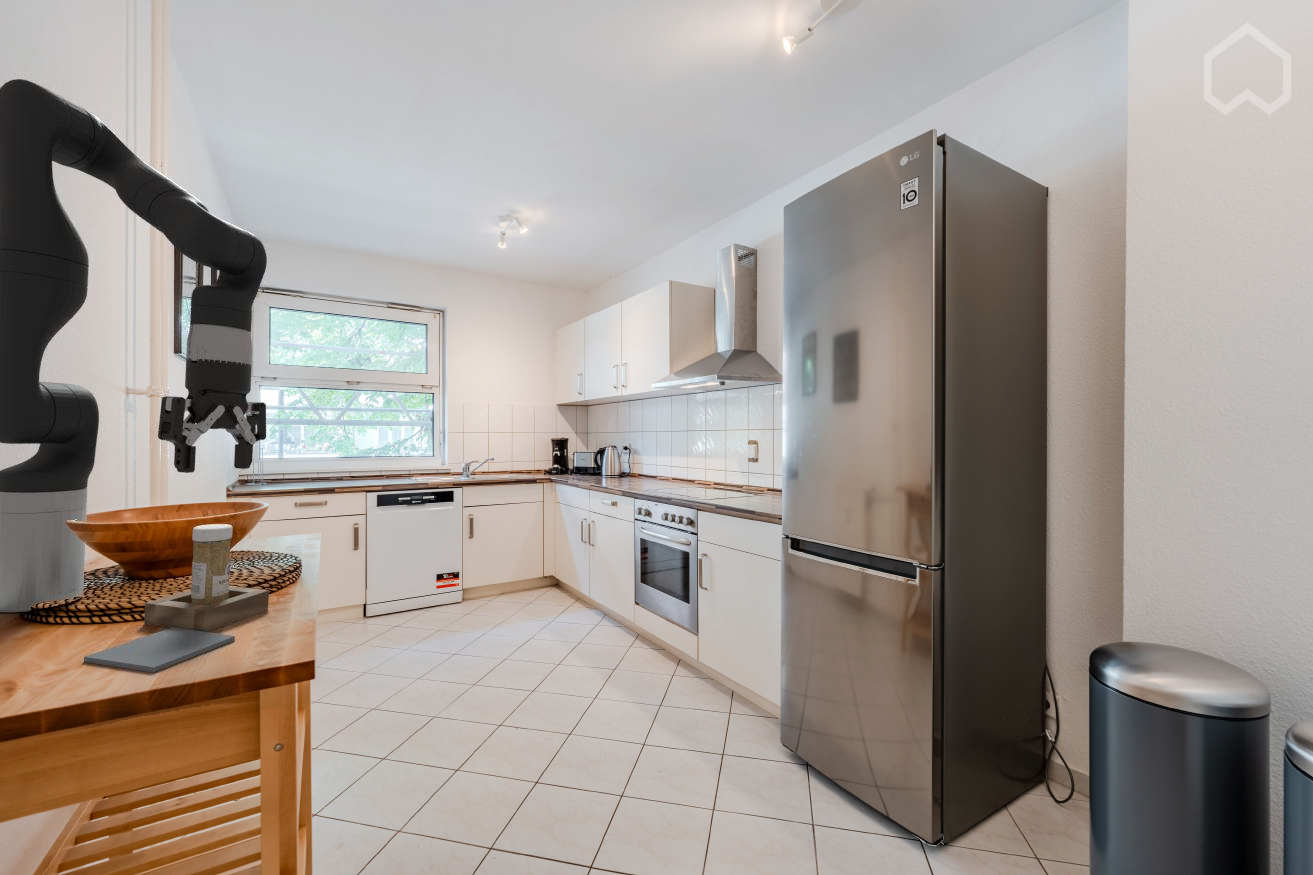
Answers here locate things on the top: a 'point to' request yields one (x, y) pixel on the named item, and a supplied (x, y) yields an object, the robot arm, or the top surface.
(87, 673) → the top surface
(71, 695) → the top surface
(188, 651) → the slate mat
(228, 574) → the sprinkles bottle
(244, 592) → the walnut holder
